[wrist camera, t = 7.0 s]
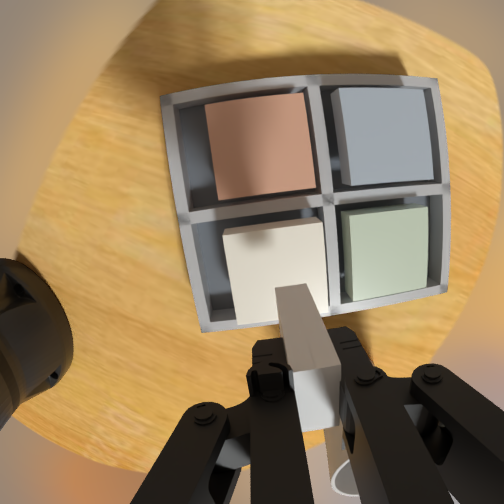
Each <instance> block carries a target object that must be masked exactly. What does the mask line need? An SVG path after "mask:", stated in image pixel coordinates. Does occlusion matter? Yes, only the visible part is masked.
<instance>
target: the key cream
mask: <svg viewBox="0 0 504 504" xmlns="http://www.w3.org/2000/svg"><path fill="white" fill-rule="evenodd" d="M222 236H223V243H224V249H225V255H226V261H227V267H228V272H229V278H230V284H231V290H232V296H233V301H234V307H235V313H236V318H237V324H238V325H243V324H252V323H259V322H267V321H274V320H279V319H278V311H277V302H276V294H275V287H283V286H290V285H297V284H304V283H306V284H307V286H308V288H309V290H310V293H311V295H312V297H313V300H314V302H315V304H316V306H317V309H318V311H319V313H320V314H321V313H328V312H329V311H328V290H327V273H326V258H325V245H324V233H323V222H322V221H320V220H319V219H318V218H317V217H309V218H301V219H294V220H286V221H278V222H271V223H263V224H256V225H249V226H241V227H234V228H227V229H225V230H224V232H223V235H222Z"/></svg>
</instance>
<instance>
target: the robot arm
mask: <svg viewBox="0 0 504 504" xmlns="http://www.w3.org/2000/svg"><path fill="white" fill-rule="evenodd" d="M275 294H276V302H277V311H278V319H279V328H280V336H281V338H273V339H266V340H257V342H256V343H255V345H254V346H253V348H252V364H253V365H252V367H251V368H250V369H249V370H248V372H247V375H246V378H247V383H248V389H249V394H250V397H249V398H248V399H247V400H246V401H244V402H242V403H241V404H239V405H236V406H234V407H230V408H227V409H225V408H224V407H223V406H222V405H220V404H218V403H214V402H202V403H199V404H195V405H194V406H192V407H190V408H188V410H187V411H186V412H185V413H184V414H183V416H182V418H181V419H180V421H179V423H178V424H177V426H176V428H175V429H174V431H173V433H172V435H171V436H170V438H169V440H168V441H167V443H166V445H165V446H164V448H163V450H162V451H161V453H160V455H159V456H158V458H157V460H156V461H155V463H154V465H153V466H152V468H151V470H150V471H149V473H148V475H147V476H146V478H145V480H144V481H143V483H142V485H141V486H140V488H139V489H138V491H137V493H136V494H135V496H134V498H133V499H132V501H131V503H130V504H229V503H230V500H231V497H232V494H233V492H234V489H235V486H236V483H237V481H238V478H239V475H240V472H241V467H243V466H246V465H249V464H250V472H251V473H250V474H251V476H250V478H251V504H314V499H313V493H312V487H311V481H310V475H309V470H308V464H307V458H306V452H305V446H304V441H303V435H302V432H307V431H313V430H319V429H325V428H330V427H335V426H339V425H340V418H341V421H342V425H343V432H342V450H345V447H346V450H347V454H348V457H349V461H350V464H351V468H352V471H353V475H354V478H355V482H356V485H357V489H358V493H359V496H360V500H361V504H454V502H453V500H452V498H451V495H450V494H449V492H450V493H451V494H452V495H453V496H454V497H455V498H456V500H457V501H458V502H459V503H460V504H504V411H503V410H501V409H500V408H499V407H497V406H496V405H495V404H493V403H492V402H491V401H490V400H488V399H487V398H486V397H484V396H483V395H482V394H480V393H479V392H478V391H476V390H475V389H474V388H473V387H471V386H470V385H469V384H467V383H466V382H464V381H463V380H462V379H460V378H459V377H458V376H456V375H455V374H454V373H453V372H451V371H450V370H449V369H447V368H445V367H443V366H442V365H438V364H424V365H421V366H419V367H417V368H416V369H415V370H414V371H413V373H412V377H408V378H393V377H388V376H387V375H386V373H385V372H384V371H383V370H382V369H380V368H377V367H375V366H373V365H372V363H371V361H370V359H369V357H368V355H367V354H366V352H365V350H364V348H363V347H362V345H361V343H360V341H359V340H358V338H357V336H356V334H355V332H354V331H352V330H350V329H349V328H347V327H346V326H345V327H340V328H334V329H328V330H326V327H325V325H324V323H323V320H322V318H321V316H320V313H319V311H318V309H317V306H316V304H315V302H314V300H313V297H312V295H311V293H310V290H309V288H308V286H307V284H306V283H304V284H297V285H290V286H283V287H275ZM72 359H73V339H72V334H71V330H70V326H69V323H68V321H67V318H66V316H65V313H64V311H63V309H62V307H61V306H60V304H59V302H58V300H57V299H56V297H55V296H54V294H53V293H52V291H51V290H50V289H49V287H48V286H47V285H46V284H45V283H44V282H43V280H42V279H41V278H40V277H39V276H38V275H37V274H35V273H34V272H33V271H32V270H31V269H29V268H28V267H26V266H25V265H23V264H21V263H19V262H17V261H15V260H11V259H6V258H0V431H1V429H2V428H3V426H4V425H5V424H6V422H7V421H8V420H9V418H10V417H11V415H12V414H13V413H14V411H15V410H16V409H17V408H18V406H19V405H20V404H21V403H23V402H25V401H27V400H29V399H31V398H33V397H35V396H37V395H39V394H40V393H42V392H44V391H46V390H48V389H50V388H52V387H53V386H55V385H56V384H57V383H58V382H59V381H60V380H61V379H62V377H63V376H64V375H65V373H66V372H67V371H68V369H69V367H70V365H71V363H72Z"/></svg>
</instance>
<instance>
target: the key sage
mask: <svg viewBox="0 0 504 504" xmlns="http://www.w3.org/2000/svg"><path fill="white" fill-rule="evenodd" d="M341 221H342V235H343V251H344V271H345V291H346V292H347V294H348V295H349V297H350V298H351V299H352V301H359V300H364V299H370V298H375V297H380V296H386V295H391V294H396V293H401V292H406V291H411V290H416V289H420V288H425V287H426V284H427V265H428V207H426V206H423V205H420V204H416V203H409V204H399V205H390V206H381V207H371V208H362V209H354V210H345V211H341Z"/></svg>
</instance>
